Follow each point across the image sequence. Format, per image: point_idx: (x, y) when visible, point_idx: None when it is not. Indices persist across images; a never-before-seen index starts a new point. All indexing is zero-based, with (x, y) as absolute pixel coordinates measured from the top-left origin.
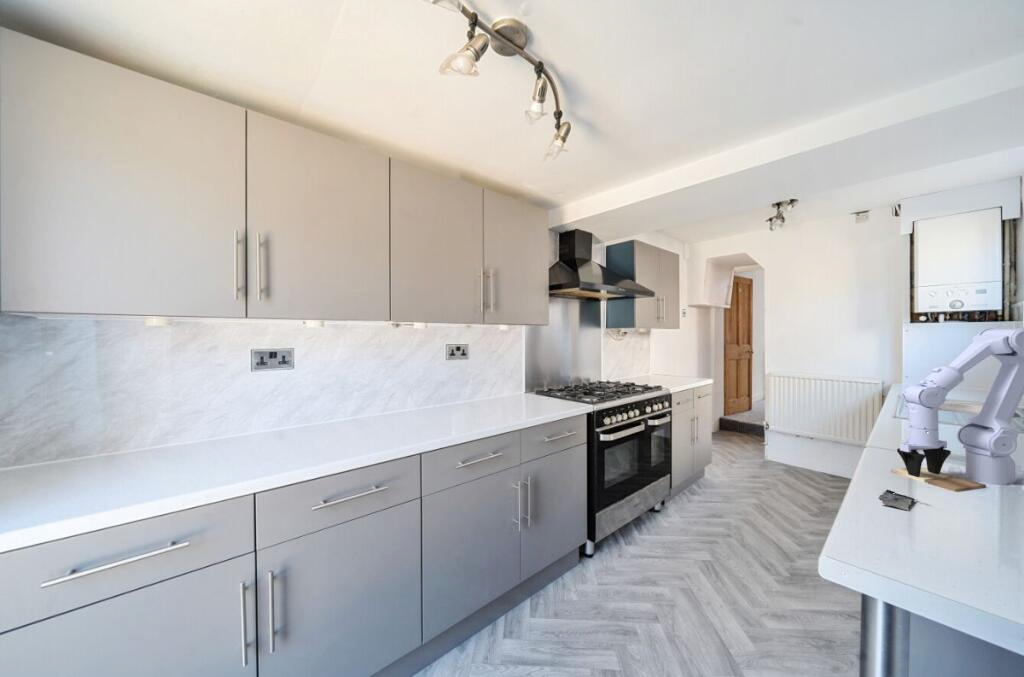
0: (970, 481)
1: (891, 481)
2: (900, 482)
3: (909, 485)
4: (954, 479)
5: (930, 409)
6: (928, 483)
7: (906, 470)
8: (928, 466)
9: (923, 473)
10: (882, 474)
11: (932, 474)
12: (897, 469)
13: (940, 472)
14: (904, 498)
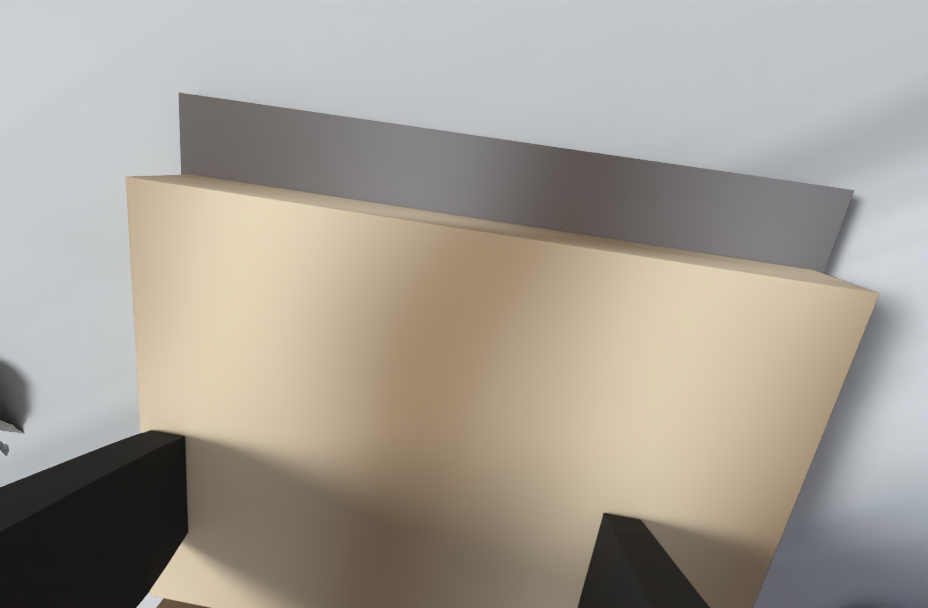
0: None
1: (8, 288)
2: (84, 351)
3: (88, 438)
4: None
5: None
6: (168, 599)
7: (347, 322)
8: (634, 594)
9: (437, 502)
10: (163, 70)
11: (508, 574)
12: (259, 222)
13: (753, 595)
14: None
